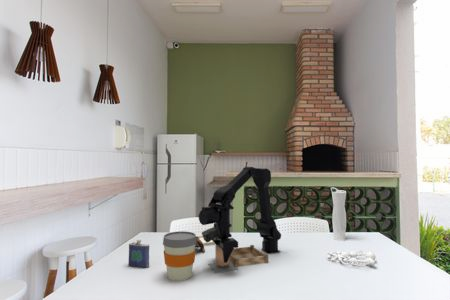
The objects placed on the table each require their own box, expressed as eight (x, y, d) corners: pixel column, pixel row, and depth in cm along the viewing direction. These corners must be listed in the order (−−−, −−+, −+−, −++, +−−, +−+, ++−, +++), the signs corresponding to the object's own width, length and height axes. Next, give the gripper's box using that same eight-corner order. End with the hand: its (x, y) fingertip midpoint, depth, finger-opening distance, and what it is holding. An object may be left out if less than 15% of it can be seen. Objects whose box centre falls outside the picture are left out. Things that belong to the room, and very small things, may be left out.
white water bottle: (331, 240, 155) (331, 188, 156) (330, 236, 162) (330, 186, 163) (347, 241, 153) (347, 188, 153) (346, 237, 160) (345, 187, 160)
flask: (150, 266, 118) (150, 239, 119) (146, 268, 116) (146, 241, 116) (130, 264, 121) (130, 238, 121) (126, 266, 118) (126, 240, 118)
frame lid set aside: (216, 236, 163) (216, 233, 163) (227, 242, 151) (227, 240, 151) (193, 239, 157) (193, 236, 157) (202, 246, 145) (202, 243, 145)
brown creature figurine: (205, 256, 131) (197, 242, 130) (187, 264, 132) (178, 250, 131) (207, 242, 143) (199, 228, 141) (191, 250, 144) (183, 236, 142)
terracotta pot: (227, 259, 121) (227, 242, 121) (232, 264, 115) (232, 246, 116) (213, 261, 119) (213, 243, 119) (218, 266, 113) (218, 248, 113)
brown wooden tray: (252, 252, 135) (252, 244, 136) (268, 263, 122) (268, 254, 122) (222, 256, 130) (222, 248, 130) (235, 267, 116) (235, 259, 116)
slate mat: (229, 261, 124) (229, 261, 124) (239, 270, 114) (239, 269, 114) (207, 264, 120) (207, 264, 120) (214, 273, 111) (214, 273, 111)
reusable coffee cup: (181, 285, 100) (181, 242, 101) (155, 277, 107) (155, 236, 107) (203, 273, 111) (203, 234, 111) (178, 266, 118) (178, 229, 118)
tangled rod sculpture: (323, 266, 122) (322, 256, 122) (328, 253, 134) (328, 244, 134) (374, 274, 113) (374, 263, 112) (375, 259, 125) (375, 250, 125)
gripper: (197, 218, 124) (197, 254, 123) (210, 228, 106) (210, 271, 106) (222, 216, 127) (222, 251, 127) (238, 225, 110) (238, 267, 110)
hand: (222, 259), depth 117 cm, fingers closed on terracotta pot, 6 cm apart
